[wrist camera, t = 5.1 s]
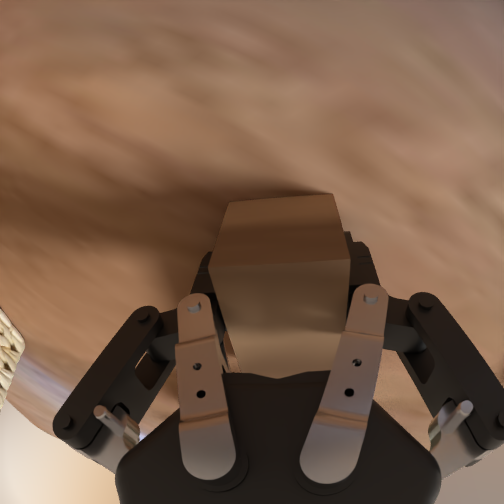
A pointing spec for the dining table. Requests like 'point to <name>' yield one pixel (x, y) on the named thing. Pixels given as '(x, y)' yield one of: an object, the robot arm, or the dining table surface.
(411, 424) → the dining table surface
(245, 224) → the walnut block
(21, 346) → the storage basket
